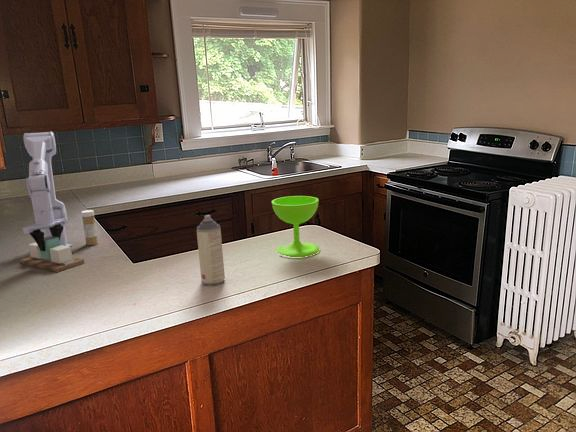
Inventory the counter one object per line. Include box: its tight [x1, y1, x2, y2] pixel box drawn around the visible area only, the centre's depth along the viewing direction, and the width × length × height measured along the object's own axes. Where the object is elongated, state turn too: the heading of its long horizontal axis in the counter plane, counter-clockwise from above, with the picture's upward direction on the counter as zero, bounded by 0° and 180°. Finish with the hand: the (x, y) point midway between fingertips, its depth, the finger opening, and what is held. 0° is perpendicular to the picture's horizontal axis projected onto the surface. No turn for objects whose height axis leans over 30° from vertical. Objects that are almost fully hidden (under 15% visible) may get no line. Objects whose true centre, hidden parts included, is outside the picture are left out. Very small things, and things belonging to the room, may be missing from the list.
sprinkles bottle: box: [80, 209, 99, 246], centre depth 181 cm, size 5×5×14 cm
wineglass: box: [271, 195, 320, 257], centre depth 160 cm, size 16×16×18 cm
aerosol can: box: [196, 214, 226, 287], centre depth 135 cm, size 7×7×20 cm
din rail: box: [29, 254, 74, 265], centre depth 162 cm, size 21×4×1 cm, turn 58°
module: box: [40, 236, 60, 258], centre depth 161 cm, size 5×4×6 cm
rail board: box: [19, 256, 85, 273], centre depth 162 cm, size 22×10×1 cm, turn 58°
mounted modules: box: [28, 242, 73, 263], centre depth 161 cm, size 18×4×4 cm, turn 58°
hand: (49, 248), depth 161 cm, fingers closed on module, 4 cm apart
